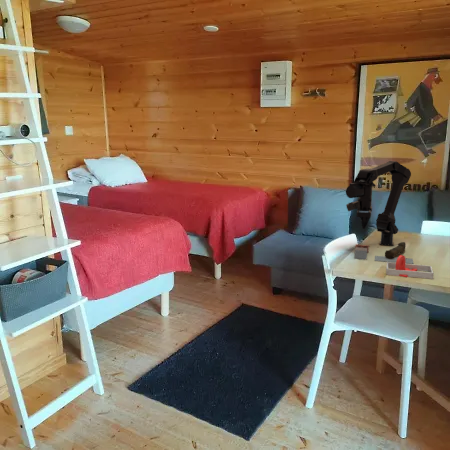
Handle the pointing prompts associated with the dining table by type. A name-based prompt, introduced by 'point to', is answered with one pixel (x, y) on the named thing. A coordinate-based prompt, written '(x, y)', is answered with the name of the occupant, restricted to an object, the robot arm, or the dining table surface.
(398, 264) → the bracket
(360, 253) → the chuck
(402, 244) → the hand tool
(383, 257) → the mat
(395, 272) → the parts frame
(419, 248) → the dining table surface
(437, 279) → the dining table surface
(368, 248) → the key
